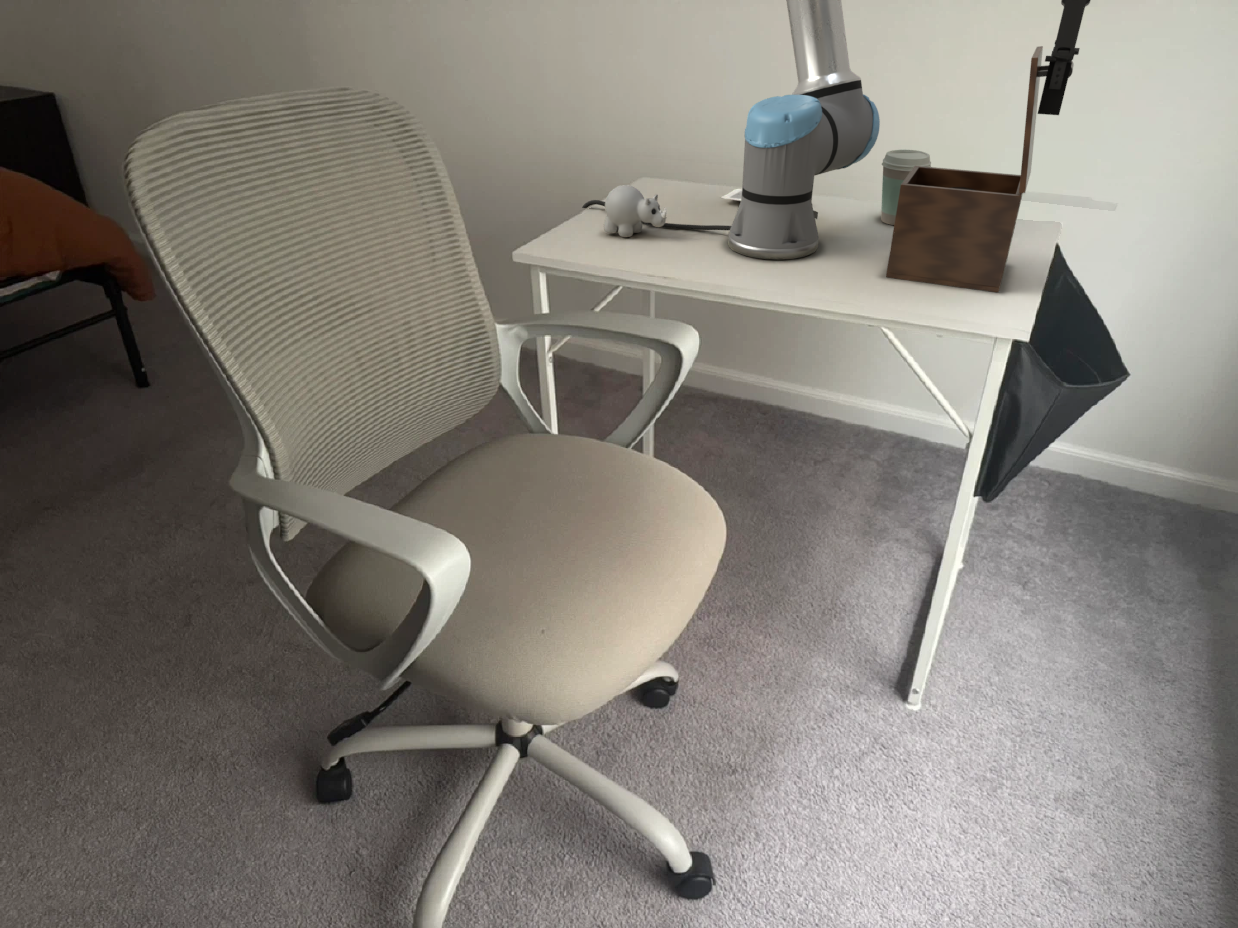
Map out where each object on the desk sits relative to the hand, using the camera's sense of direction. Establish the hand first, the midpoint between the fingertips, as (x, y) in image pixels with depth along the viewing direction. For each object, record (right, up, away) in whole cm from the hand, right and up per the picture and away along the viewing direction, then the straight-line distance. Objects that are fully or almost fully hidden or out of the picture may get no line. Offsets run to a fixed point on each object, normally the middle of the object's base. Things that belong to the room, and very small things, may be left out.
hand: (1049, 109), depth 120 cm
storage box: (-8, -19, +17) cm, 26 cm away
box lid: (-2, -1, +2) cm, 3 cm away
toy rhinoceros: (-57, -9, +34) cm, 67 cm away
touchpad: (-32, +2, +50) cm, 59 cm away
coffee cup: (-8, -4, +40) cm, 41 cm away
